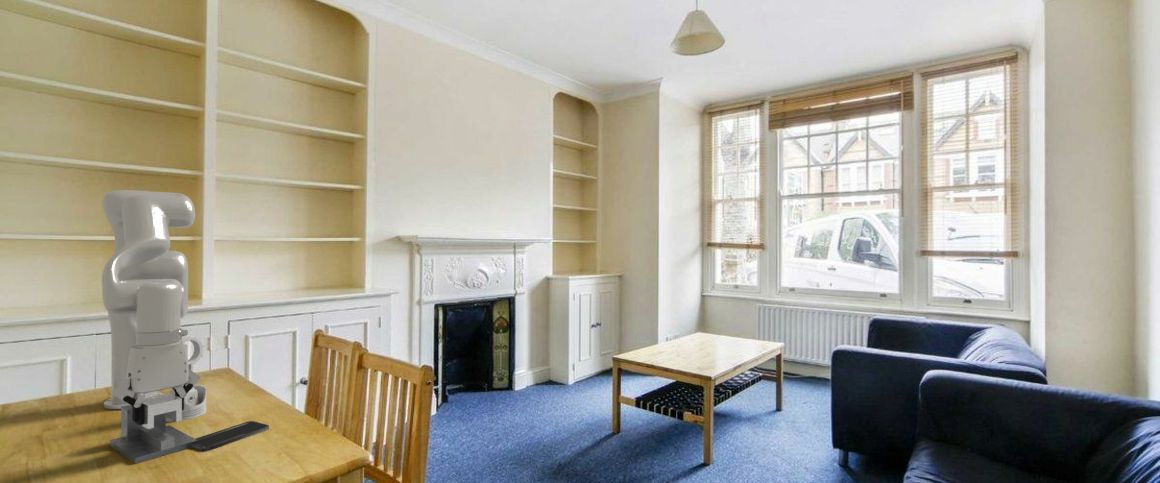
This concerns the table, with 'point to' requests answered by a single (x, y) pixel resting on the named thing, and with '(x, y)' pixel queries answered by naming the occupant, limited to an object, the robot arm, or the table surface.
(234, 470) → the table surface
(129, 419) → the coupler
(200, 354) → the engine component
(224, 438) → the phone
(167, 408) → the block
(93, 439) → the table surface
